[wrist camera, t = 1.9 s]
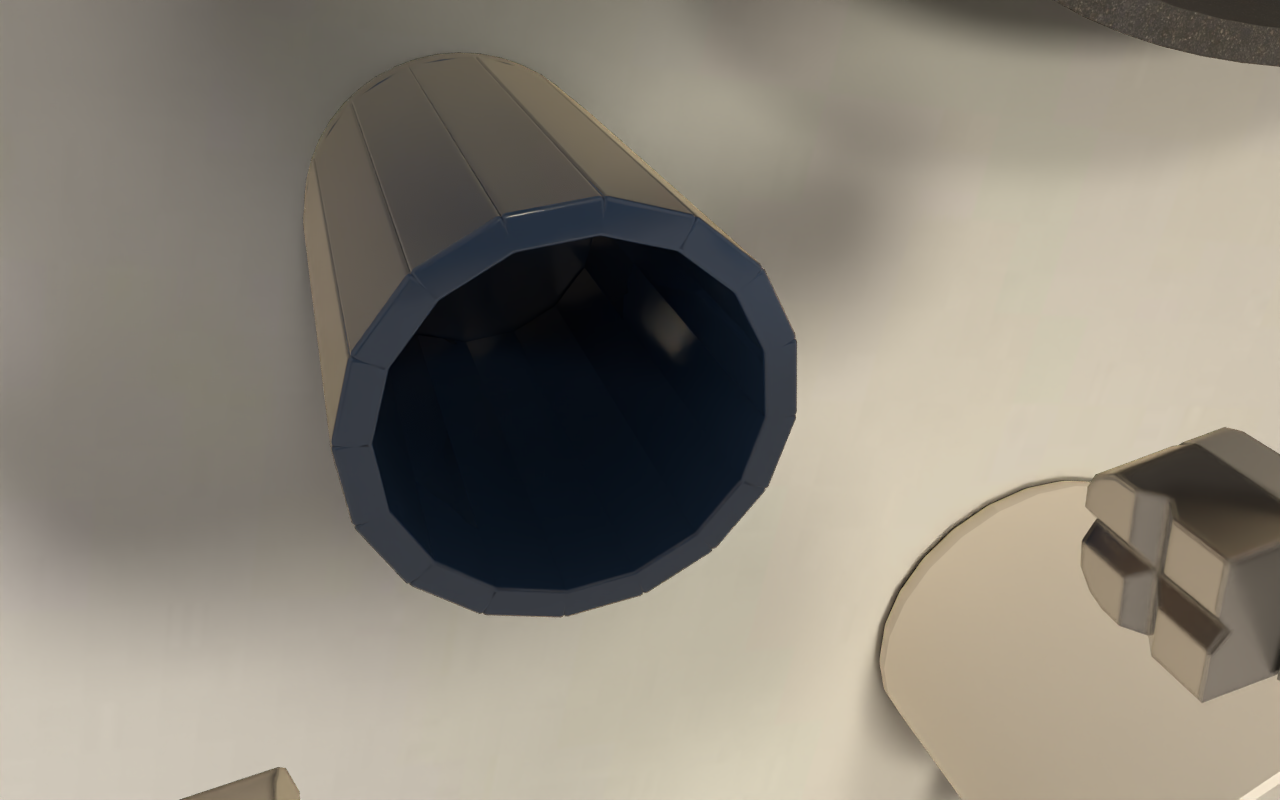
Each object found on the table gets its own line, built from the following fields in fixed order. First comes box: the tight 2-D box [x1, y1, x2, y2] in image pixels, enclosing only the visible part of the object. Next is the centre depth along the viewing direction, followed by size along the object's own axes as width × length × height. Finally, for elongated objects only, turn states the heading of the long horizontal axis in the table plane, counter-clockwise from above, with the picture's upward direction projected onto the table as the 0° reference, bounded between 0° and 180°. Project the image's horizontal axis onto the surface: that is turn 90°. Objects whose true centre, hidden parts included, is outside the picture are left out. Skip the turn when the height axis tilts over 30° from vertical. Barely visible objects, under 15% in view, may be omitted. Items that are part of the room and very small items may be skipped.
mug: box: [879, 481, 1280, 800], centre depth 29 cm, size 13×10×10 cm
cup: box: [303, 52, 797, 617], centre depth 17 cm, size 6×6×9 cm
